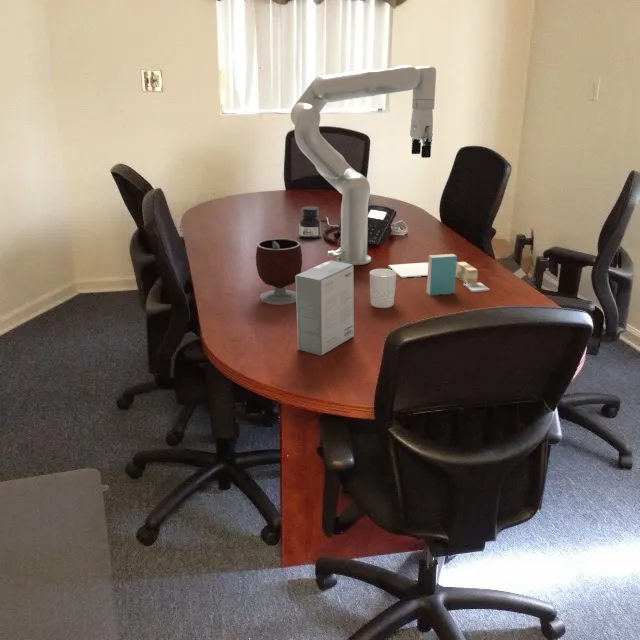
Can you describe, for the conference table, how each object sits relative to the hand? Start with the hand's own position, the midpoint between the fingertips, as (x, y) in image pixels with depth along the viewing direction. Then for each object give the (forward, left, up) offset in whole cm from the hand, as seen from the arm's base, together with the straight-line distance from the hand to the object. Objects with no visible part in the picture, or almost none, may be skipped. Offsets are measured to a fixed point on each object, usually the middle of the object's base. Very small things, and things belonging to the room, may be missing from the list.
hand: (420, 155), depth 236 cm
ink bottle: (-32, +39, -37) cm, 63 cm away
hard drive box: (-51, -72, -37) cm, 96 cm away
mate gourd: (-57, -35, -37) cm, 76 cm away
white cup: (-28, -47, -37) cm, 66 cm away
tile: (-7, -41, -37) cm, 56 cm away
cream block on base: (+6, -34, -37) cm, 51 cm away
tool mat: (-2, -17, -37) cm, 41 cm away
